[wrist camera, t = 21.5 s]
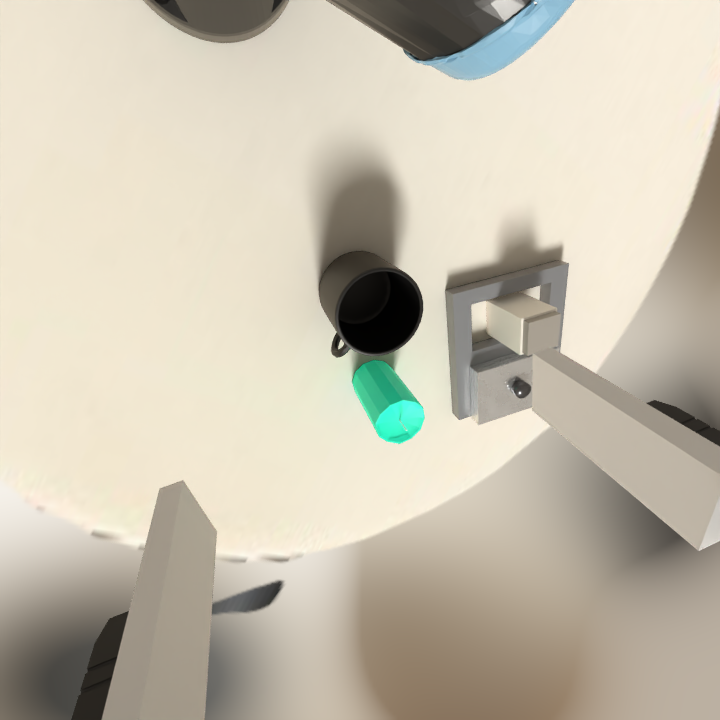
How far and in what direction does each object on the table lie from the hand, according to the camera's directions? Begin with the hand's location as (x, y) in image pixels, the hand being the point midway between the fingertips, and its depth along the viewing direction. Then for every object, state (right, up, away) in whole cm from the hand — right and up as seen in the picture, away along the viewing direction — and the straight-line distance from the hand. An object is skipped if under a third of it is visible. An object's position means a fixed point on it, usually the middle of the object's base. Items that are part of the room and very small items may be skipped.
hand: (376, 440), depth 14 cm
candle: (+1, 0, +39) cm, 39 cm away
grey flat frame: (+20, +6, +42) cm, 47 cm away
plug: (+19, +10, +40) cm, 45 cm away
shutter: (+22, 0, +43) cm, 48 cm away
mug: (-2, +10, +33) cm, 34 cm away
